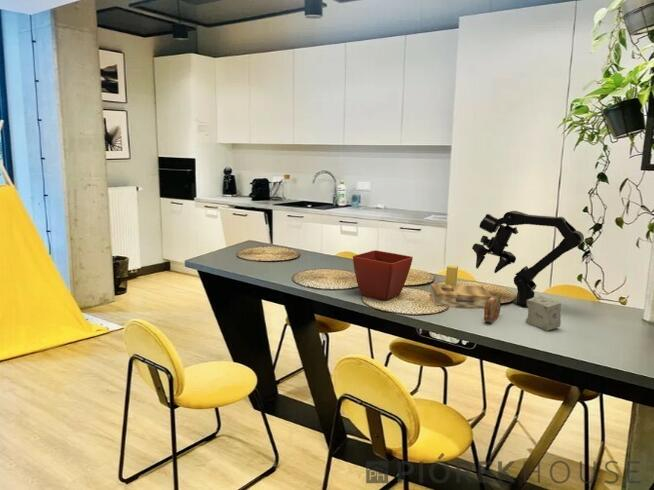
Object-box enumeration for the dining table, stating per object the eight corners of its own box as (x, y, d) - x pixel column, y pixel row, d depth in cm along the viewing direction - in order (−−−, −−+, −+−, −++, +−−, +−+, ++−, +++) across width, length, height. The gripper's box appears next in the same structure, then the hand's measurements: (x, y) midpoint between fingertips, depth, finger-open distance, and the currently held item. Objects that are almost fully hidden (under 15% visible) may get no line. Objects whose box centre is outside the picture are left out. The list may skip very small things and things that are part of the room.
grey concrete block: (523, 323, 194) (526, 296, 192) (539, 321, 198) (542, 294, 196) (544, 332, 185) (547, 304, 183) (560, 329, 189) (564, 302, 187)
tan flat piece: (481, 297, 224) (482, 286, 224) (492, 309, 208) (493, 297, 207) (430, 294, 225) (431, 283, 224) (437, 306, 209) (438, 294, 208)
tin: (489, 325, 190) (492, 303, 188) (481, 323, 191) (483, 302, 190) (500, 315, 202) (502, 294, 201) (492, 313, 204) (494, 292, 202)
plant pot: (372, 285, 235) (374, 249, 232) (410, 294, 224) (413, 256, 221) (349, 294, 220) (351, 256, 216) (389, 304, 209) (392, 263, 206)
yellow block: (455, 292, 230) (458, 266, 228) (453, 295, 227) (456, 268, 224) (446, 291, 232) (448, 265, 230) (444, 293, 228) (446, 266, 226)
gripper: (511, 235, 228) (495, 266, 234) (474, 225, 223) (459, 257, 229) (523, 246, 218) (507, 278, 224) (485, 236, 213) (469, 269, 219)
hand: (485, 270), depth 224 cm, fingers open, 9 cm apart
